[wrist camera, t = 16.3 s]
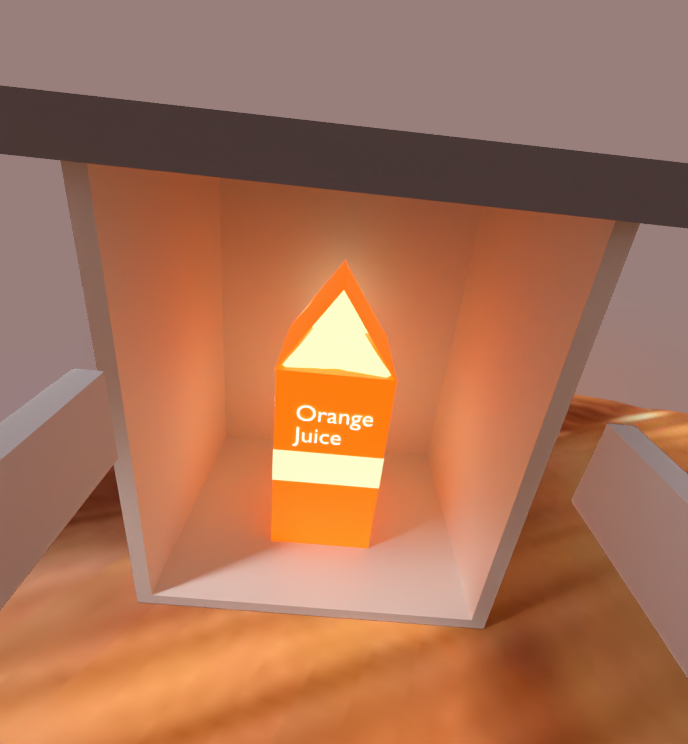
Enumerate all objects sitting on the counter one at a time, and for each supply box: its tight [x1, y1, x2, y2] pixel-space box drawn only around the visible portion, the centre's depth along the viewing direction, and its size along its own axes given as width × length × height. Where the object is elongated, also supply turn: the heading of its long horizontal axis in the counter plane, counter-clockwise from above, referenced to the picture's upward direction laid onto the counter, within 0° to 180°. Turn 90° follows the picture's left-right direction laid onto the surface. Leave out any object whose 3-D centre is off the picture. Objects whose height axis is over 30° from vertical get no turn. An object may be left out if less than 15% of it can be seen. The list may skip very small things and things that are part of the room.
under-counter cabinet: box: [0, 86, 688, 629], centre depth 29 cm, size 25×21×28 cm
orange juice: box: [271, 260, 397, 548], centre depth 31 cm, size 8×9×20 cm
